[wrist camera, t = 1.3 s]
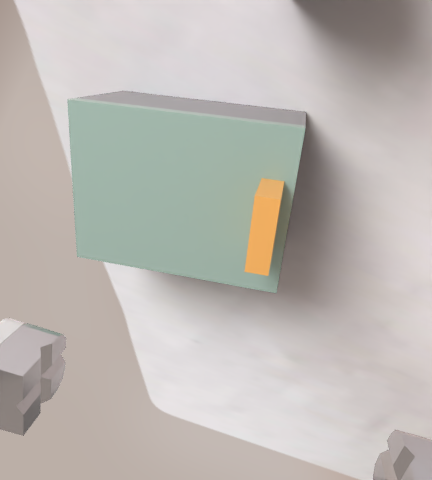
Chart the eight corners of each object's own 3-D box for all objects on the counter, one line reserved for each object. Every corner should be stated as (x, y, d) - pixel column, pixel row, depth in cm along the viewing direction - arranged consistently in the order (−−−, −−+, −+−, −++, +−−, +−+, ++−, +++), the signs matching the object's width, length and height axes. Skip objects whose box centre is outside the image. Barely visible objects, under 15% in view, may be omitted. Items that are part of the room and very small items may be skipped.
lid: (305, 123, 27) (305, 139, 22) (278, 280, 32) (272, 324, 27) (82, 96, 29) (31, 104, 24) (89, 246, 34) (48, 280, 29)
